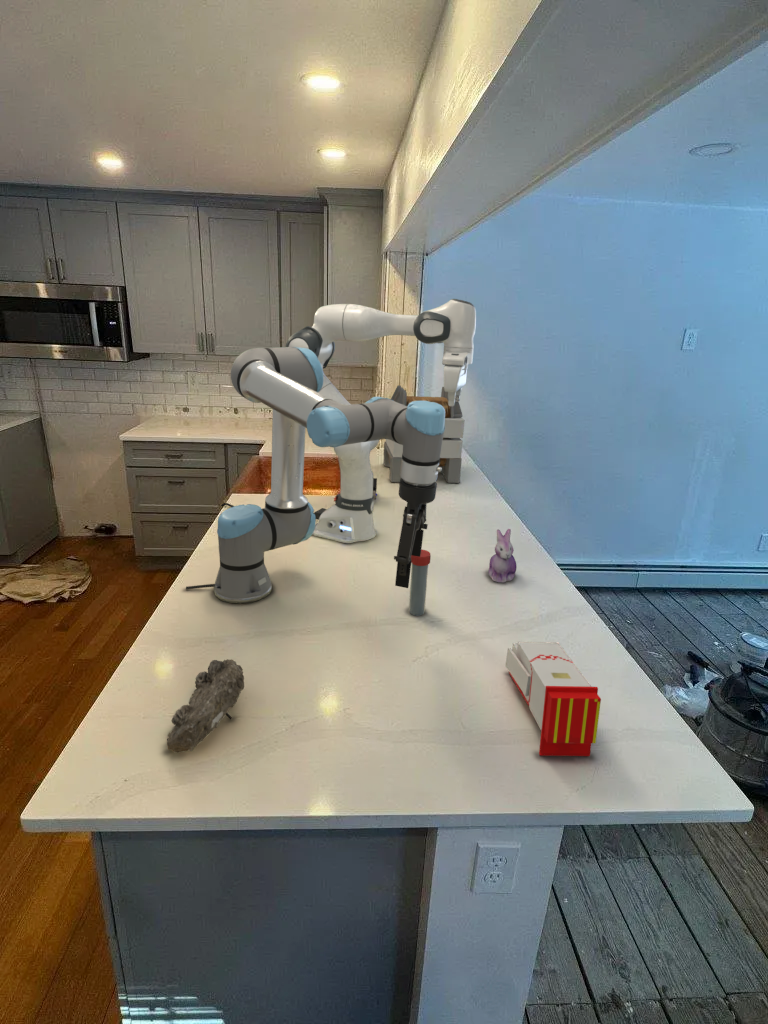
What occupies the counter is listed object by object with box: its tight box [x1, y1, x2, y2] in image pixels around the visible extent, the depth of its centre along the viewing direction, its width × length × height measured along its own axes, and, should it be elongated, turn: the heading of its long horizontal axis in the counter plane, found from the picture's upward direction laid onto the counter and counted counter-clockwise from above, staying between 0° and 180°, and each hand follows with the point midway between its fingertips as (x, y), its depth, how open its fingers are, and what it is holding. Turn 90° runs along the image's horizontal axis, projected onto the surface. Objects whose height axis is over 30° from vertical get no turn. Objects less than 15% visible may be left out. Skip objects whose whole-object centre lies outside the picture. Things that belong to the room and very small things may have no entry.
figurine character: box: [373, 477, 378, 500], centre depth 233 cm, size 7×8×15 cm
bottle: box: [408, 563, 429, 617], centre depth 146 cm, size 4×4×16 cm
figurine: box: [488, 528, 518, 583], centre depth 168 cm, size 9×10×15 cm
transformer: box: [383, 384, 465, 484], centre depth 268 cm, size 34×33×41 cm
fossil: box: [166, 658, 245, 754], centre depth 106 cm, size 22×10×15 cm
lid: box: [411, 548, 431, 566], centre depth 144 cm, size 5×5×2 cm
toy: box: [505, 641, 602, 757], centre depth 113 cm, size 12×13×30 cm
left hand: (408, 569), depth 123 cm, fingers open, 13 cm apart
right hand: (454, 403), depth 174 cm, fingers open, 8 cm apart
